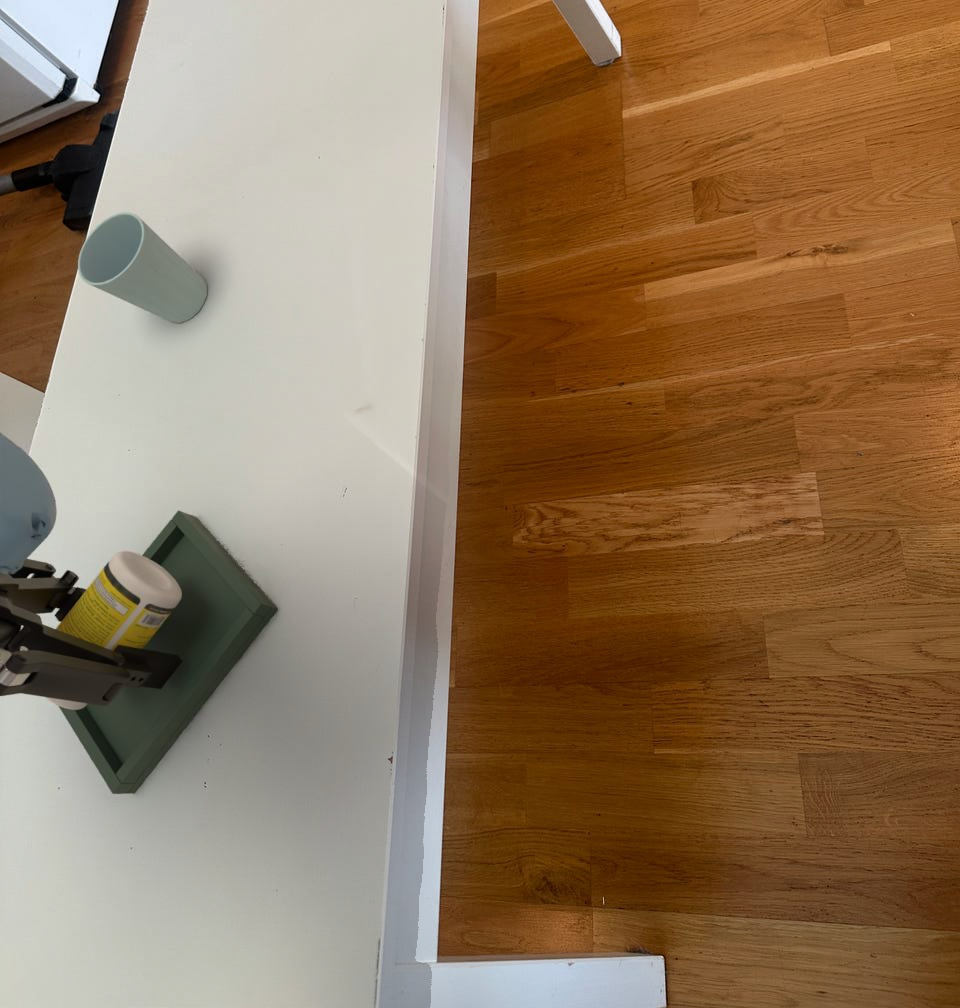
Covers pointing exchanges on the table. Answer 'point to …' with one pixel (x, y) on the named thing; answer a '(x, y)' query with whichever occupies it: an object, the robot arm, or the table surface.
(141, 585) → the pill bottle
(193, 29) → the table surface
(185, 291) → the cup
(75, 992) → the table surface
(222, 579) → the tray
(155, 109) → the table surface
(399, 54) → the table surface
